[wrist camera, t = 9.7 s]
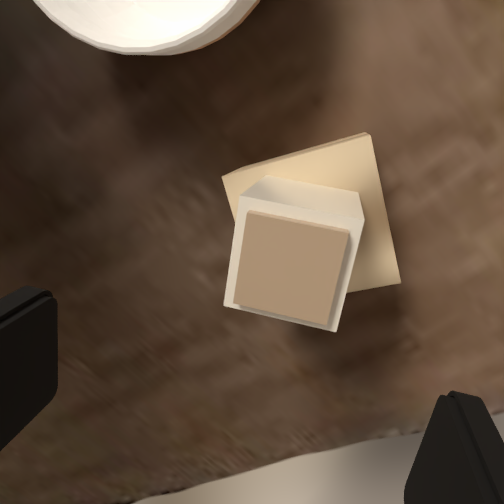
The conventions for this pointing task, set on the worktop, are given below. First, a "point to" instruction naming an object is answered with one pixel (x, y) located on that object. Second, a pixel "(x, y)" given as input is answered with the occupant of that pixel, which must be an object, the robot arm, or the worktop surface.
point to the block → (342, 177)
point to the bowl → (148, 23)
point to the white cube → (294, 251)
